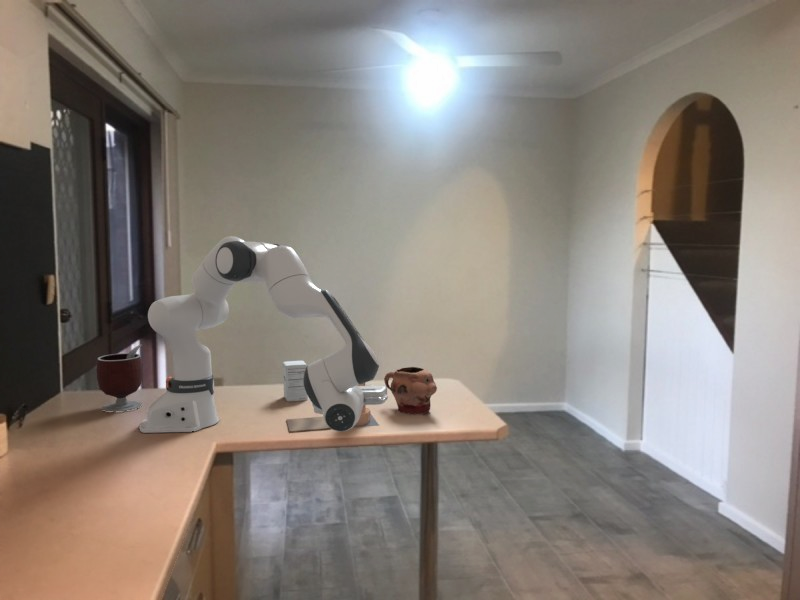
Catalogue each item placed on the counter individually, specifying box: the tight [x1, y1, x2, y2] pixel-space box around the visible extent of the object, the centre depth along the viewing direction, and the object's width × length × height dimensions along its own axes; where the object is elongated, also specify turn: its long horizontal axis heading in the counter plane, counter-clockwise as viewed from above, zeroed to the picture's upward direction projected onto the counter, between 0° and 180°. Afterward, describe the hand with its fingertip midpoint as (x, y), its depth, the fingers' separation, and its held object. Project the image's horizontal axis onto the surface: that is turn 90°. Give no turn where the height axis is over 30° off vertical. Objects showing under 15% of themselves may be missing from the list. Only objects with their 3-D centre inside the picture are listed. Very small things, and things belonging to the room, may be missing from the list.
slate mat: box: [351, 414, 380, 429], centre depth 189 cm, size 12×12×1 cm
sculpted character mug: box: [384, 366, 438, 415], centre depth 201 cm, size 20×12×14 cm, turn 59°
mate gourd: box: [96, 344, 144, 412], centre depth 208 cm, size 16×14×20 cm
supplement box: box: [282, 360, 309, 402], centre depth 218 cm, size 7×7×13 cm
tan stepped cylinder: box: [355, 382, 372, 426], centre depth 189 cm, size 9×9×13 cm
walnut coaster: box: [286, 416, 332, 433], centre depth 186 cm, size 12×12×1 cm
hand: (351, 388), depth 176 cm, fingers open, 8 cm apart
